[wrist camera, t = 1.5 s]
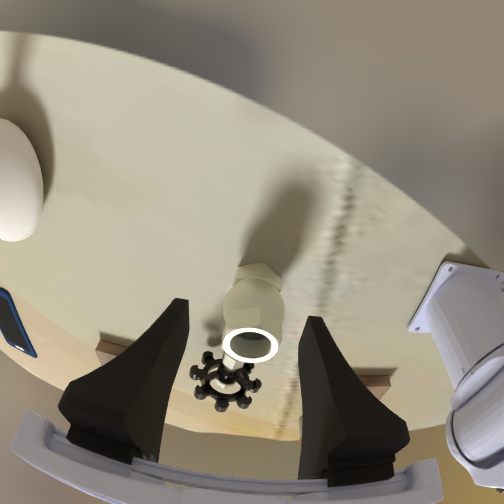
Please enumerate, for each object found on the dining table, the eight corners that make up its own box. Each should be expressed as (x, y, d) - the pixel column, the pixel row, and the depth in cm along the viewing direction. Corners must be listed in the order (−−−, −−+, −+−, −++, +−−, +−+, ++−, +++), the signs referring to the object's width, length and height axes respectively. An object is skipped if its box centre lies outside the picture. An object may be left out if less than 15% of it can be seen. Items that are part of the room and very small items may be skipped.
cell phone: (9, 340, 34) (7, 343, 33) (-20, 275, 26) (-23, 278, 26) (39, 356, 34) (37, 360, 33) (11, 290, 27) (8, 294, 26)
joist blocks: (388, 375, 29) (391, 386, 28) (368, 401, 32) (369, 410, 31) (100, 340, 28) (95, 349, 27) (111, 370, 32) (107, 379, 30)
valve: (220, 247, 21) (195, 347, 28) (202, 309, 16) (182, 403, 22) (305, 270, 22) (260, 362, 28) (314, 335, 16) (256, 419, 23)
